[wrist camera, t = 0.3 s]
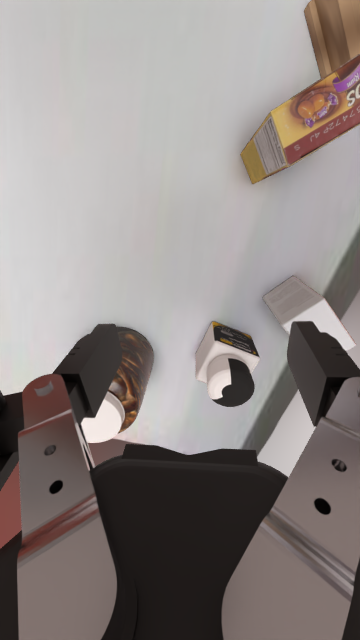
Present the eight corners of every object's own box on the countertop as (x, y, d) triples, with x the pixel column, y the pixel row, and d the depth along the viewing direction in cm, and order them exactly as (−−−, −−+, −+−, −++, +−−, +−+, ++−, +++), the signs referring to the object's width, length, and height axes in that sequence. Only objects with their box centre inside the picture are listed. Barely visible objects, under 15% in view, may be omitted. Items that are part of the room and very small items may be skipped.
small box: (320, 312, 40) (359, 346, 30) (288, 332, 42) (315, 370, 32) (293, 273, 38) (326, 297, 28) (260, 296, 39) (281, 325, 30)
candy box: (308, 107, 30) (407, 21, 16) (319, 145, 31) (418, 97, 17) (237, 151, 32) (269, 109, 18) (251, 185, 33) (290, 171, 19)
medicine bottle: (251, 335, 42) (270, 380, 31) (232, 368, 45) (243, 420, 34) (212, 320, 42) (217, 360, 31) (194, 354, 44) (194, 403, 33)
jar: (106, 312, 42) (63, 364, 28) (165, 348, 44) (152, 412, 31) (77, 361, 46) (27, 426, 33) (132, 392, 49) (107, 465, 35)
